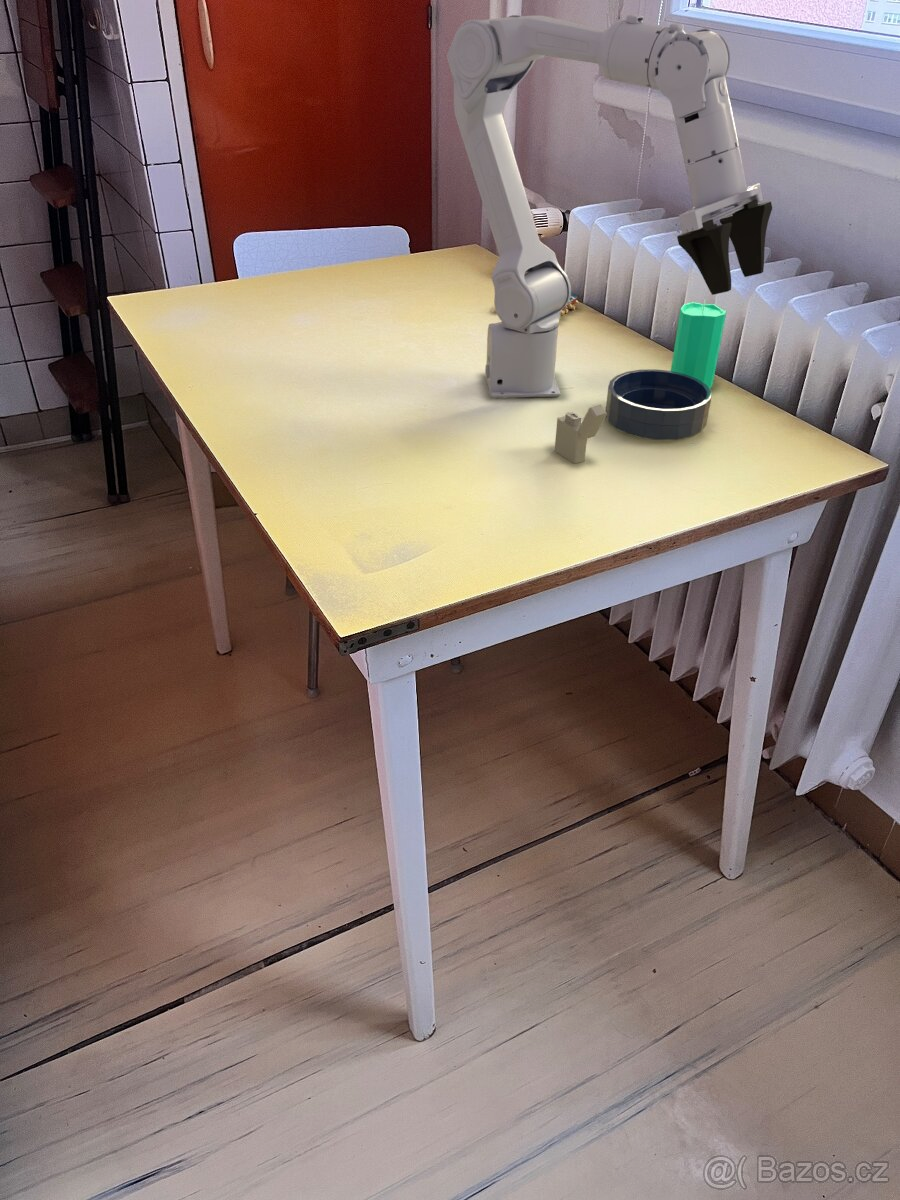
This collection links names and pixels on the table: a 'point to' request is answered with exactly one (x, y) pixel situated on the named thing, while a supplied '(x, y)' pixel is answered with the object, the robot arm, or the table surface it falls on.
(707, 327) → the candle
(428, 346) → the table surface
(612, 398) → the bowl
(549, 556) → the table surface
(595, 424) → the lighter
